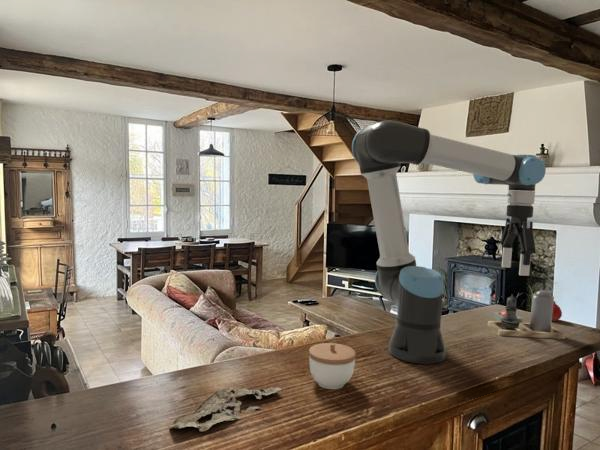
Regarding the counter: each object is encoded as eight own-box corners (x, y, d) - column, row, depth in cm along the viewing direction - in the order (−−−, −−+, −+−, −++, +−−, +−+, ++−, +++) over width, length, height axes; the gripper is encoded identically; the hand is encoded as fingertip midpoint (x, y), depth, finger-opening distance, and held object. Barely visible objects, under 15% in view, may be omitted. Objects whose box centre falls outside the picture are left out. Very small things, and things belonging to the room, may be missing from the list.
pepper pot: (534, 335, 142) (538, 292, 141) (526, 329, 148) (529, 287, 147) (554, 336, 142) (558, 293, 141) (544, 330, 148) (548, 288, 147)
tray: (498, 338, 141) (499, 330, 141) (487, 328, 151) (487, 320, 151) (564, 341, 140) (565, 333, 140) (548, 331, 150) (549, 324, 150)
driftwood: (250, 370, 103) (259, 356, 101) (282, 404, 100) (291, 390, 97) (159, 427, 83) (167, 411, 81) (194, 473, 79) (203, 458, 77)
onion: (539, 322, 160) (541, 300, 160) (545, 319, 164) (547, 297, 163) (557, 326, 156) (559, 303, 155) (563, 323, 160) (565, 301, 159)
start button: (503, 322, 155) (503, 314, 155) (498, 319, 159) (499, 310, 159) (516, 323, 155) (517, 315, 154) (511, 319, 159) (511, 311, 159)
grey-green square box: (500, 326, 154) (501, 317, 153) (493, 320, 161) (493, 311, 160) (521, 327, 153) (522, 318, 153) (513, 321, 160) (513, 312, 160)
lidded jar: (325, 398, 97) (327, 356, 96) (298, 379, 106) (300, 340, 105) (363, 387, 103) (366, 347, 102) (335, 370, 112) (337, 333, 111)
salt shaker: (514, 328, 148) (517, 292, 147) (523, 334, 143) (525, 296, 142) (496, 327, 149) (499, 291, 148) (504, 333, 143) (507, 296, 142)
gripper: (493, 202, 155) (488, 263, 156) (525, 205, 130) (519, 278, 132) (515, 203, 154) (510, 264, 156) (552, 207, 129) (545, 279, 131)
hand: (514, 271), depth 144 cm, fingers open, 13 cm apart
